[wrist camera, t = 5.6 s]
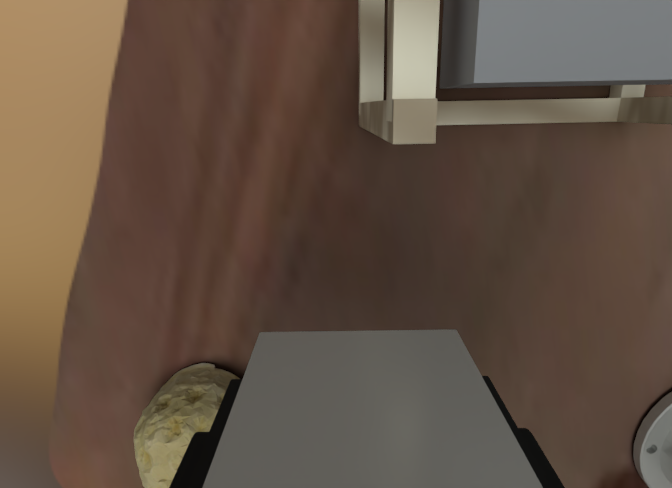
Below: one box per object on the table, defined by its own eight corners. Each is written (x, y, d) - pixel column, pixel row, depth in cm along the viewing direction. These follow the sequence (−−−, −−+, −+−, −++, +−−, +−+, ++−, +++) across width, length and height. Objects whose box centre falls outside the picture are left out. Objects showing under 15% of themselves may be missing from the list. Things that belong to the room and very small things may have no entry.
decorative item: (167, 385, 38) (128, 522, 32) (145, 340, 30) (87, 510, 24) (277, 397, 39) (258, 533, 33) (283, 356, 31) (260, 524, 25)
